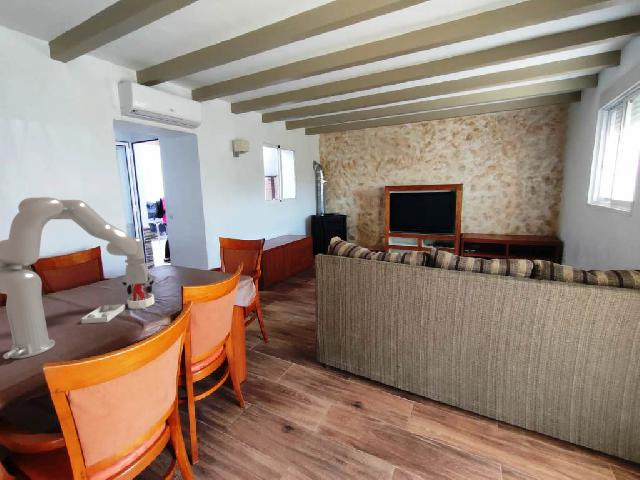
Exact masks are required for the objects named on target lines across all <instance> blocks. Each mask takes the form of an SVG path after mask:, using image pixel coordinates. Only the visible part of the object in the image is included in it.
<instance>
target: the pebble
mask: <svg viewBox="0 0 640 480" xmlns="http://www.w3.org/2000/svg"><path fill="white" fill-rule="evenodd" d="M108 305H109V304H105V306H103V305H102V306H103V311H108V310H109V309H110V307H109V306H108Z"/></svg>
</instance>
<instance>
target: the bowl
mask: <svg viewBox="0 0 640 480" xmlns="http://www.w3.org/2000/svg"><path fill="white" fill-rule="evenodd" d="M126 300H127V301H126V302H127V306H128V307H127V308H128V309H133V310H136V309H143V308H146V307H150V306H152V305H153V304H154V303H155V295H154V293H149V294H148V299H145V300H140V301H133V298H132V296H129V297H128V298H127V299H126Z"/></svg>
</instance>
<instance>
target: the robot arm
mask: <svg viewBox="0 0 640 480" xmlns="http://www.w3.org/2000/svg"><path fill="white" fill-rule="evenodd" d="M52 220H71V221H73V222H74V223H75V224H76V225H78V226H79V227H80V228H82V230H84V231H85V232H86V233H87V234H88V235H90V236H92V237H94V238H97V239H99V240H104V241H105V242H106V241H107V242H108V243H107V244H106V252H108V254H110V255H113V256H122V257H124V256H125V257H126V259H125V260H124V263H127V264H126V266H125V276H124V277H122V278H120V282H121V283H122V286H125V288H126V291H127V292H126V293H127V295H132V289H131V286H132V284H137V283H139V284H144V283H146V284H147V291H148V294H152V292H153V286H152V285H153V284H154V283H155V281H156V280H157V277H156V276H155V275H152V274H150V272H149V266H148V264H147V263H146V262H145V260H146V259H145V253H144V245H143V244H144V243H143V240H142V238H140V237H131V236H130V235H128V233H126V232H125V231H123V230H121V229H119V228H118V227H116V226H114V225H113V224H112V223H109V222H107V221H106V220H105V219H104V218H103V217H101V215H100V214H98V213H97V212H96V211H95V210H94V209H93V207H91V206H90V205H89V204H88V203H87V202H86V201H83V200H81V199H57V198H55V197H48V196H45V197H44V196H41V197H39V196H38V197H27V198H24V199H22V200H21V201H20V202H19V204H18V212H17V213H16V215H15V216H14V218H13V219H12V221H11V224H10V229H9V234H8V239H3V240H0V294H5V295H6V303H5V305H6V306H5V307H6V308H5V309H6V313H7V319H8V323H9V327H10V332H11V338H12V343H13V344H12V345H11V349H10V350H9V351H8V352H6V353H4V354H3V355H2V358H3V359H5V360H7V359H9V358H11V359H25V358H30V357H33V356H36V355H40V354H43V353H45V352H47V351H48V350H51V349H52V348H54V346H55V345H56V341H55V340H54V339H52V338H49V333H48V328H47V327H48V326H47V321H46V317H45V311H44V306H43V300H42V299H43V298H42V289H43V288H42V287H43V284H42V283H43V282H42V279H41V276H39V274H37V273H36V272H35V271H33V270H30V269H24V268H22V267H23V266H24V267H26V266H31V265H33V264H35V263H37V261H39V260H38V259H40V254H41V251H40V250H41V244H42V243H41V242H42V241H41V240H42V235H43V234H42V233H43V230H44V227H45V225H47V224H48V222H49V221H52ZM150 279H151V280H150Z"/></svg>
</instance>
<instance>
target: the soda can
mask: <svg viewBox="0 0 640 480" xmlns="http://www.w3.org/2000/svg"><path fill="white" fill-rule="evenodd" d="M147 286H148V285H147V284H146V283H144V284H139V283H137V284H131V289H132V293H131V297H132V298H133V301H140V300H145V299H148V291H147Z"/></svg>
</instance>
